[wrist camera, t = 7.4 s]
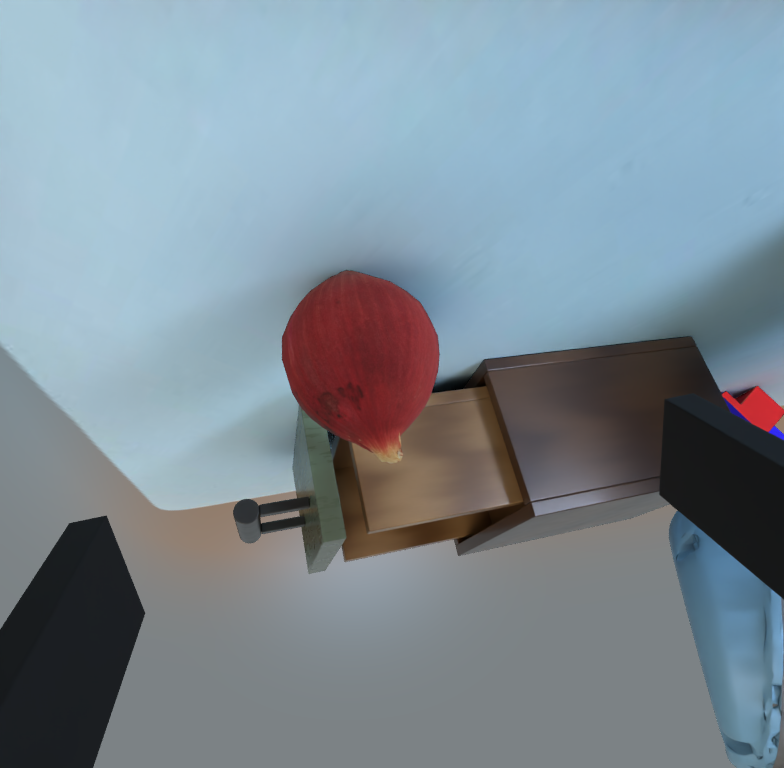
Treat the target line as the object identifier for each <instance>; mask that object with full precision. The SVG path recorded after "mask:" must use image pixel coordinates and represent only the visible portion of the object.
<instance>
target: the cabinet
mask: <svg viewBox="0 0 784 768" xmlns="http://www.w3.org/2000/svg"><path fill="white" fill-rule="evenodd" d="M484 386H487V389H488V392H489V395H490V399H491V402H492V405H493V408H494V411H495V414H496V417H497V420H498V424H499V427H500V430H501V433H502V436H503V439H504V442H505V445H506V448H507V452H508V455H509V458H510V461H511V464H512V467H513V470H514V473H515V476H516V480H517V483H518V486H519V489H520V492H521V495H522V498H523V501H524V504H525V506H524V507H522V508H520V509H518V510H517V511H515V512H513V513H511V514H510V515H508V516H506V517H504V518H503V519H501V520H499V521H497V522H496V523H494V524H492V525H491V526H489V527H487V528H485V529H484V530H482V531H480V532H478V533H477V534H475V535H473V536H468V537H463V538H459V539H454V542H455V545H456V549H457V553H458V556H461V555H466V554H470V553H475V552H479V551H484V550H489V549H493V548H498V547H503V546H507V545H512V544H516V543H521V542H525V541H530V540H535V539H539V538H544V537H548V536H553V535H557V534H562V533H566V532H571V531H576V530H581V529H585V528H590V527H594V526H599V525H604V524H608V523H613V522H617V521H622V520H626V519H631V518H634V517H636V516H639V515H642V514H644V513H647V512H650V511H653V510H655V509H658V508H660V507H664V506H666V505H669V504H670V503H668V502H667V501H666V500H665V499H664V498H662V497H661V496H660V495H659V489H660V471H661V453H662V436H663V418H664V401H665V399H668V398H673V397H677V396H682V395H687V394H692V393H694V394H696V395H698V396H700V397H701V398H703V399H705V400H707V401H709V402H711V403H713V404H715V405H717V406H719V407H721V408H723V409H725V410H727V411H728V412H730V410H729V408H728V406H727V404H726V402H725V400H724V398H723V396H722V394H721V392H720V390H719V388H718V386H717V384H716V382H715V380H714V379H713V377H712V375H711V373H710V371H709V369H708V367H707V365H706V363H705V361H704V359H703V357H702V355H701V353H700V351H699V349H698V347H696V343H695V341H694V339H693V337H682V338H673V339H664V340H655V341H646V342H637V343H629V344H620V345H611V346H602V347H593V348H584V349H576V350H567V351H558V352H549V353H540V354H531V355H522V356H514V357H505V358H496V359H487V360H484V361H483V362H482V363H481V365H480V366H479V368H478V369H477V370H476V372H475V373H474V374H473V376H472V377H471V379H470V380H469V381H468V383H467V384H466V385H465V387H464V388H463V389H468V388H476V387H484ZM730 413H731V412H730Z"/></svg>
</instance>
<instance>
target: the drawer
mask: <svg viewBox="0 0 784 768" xmlns="http://www.w3.org/2000/svg"><path fill="white" fill-rule="evenodd" d="M401 450H402V452H403V457H402V459H401V461H399V462H397V463H391V464H390V463H387V462H382V461H381V460H380V459H379V458H378V457H377V456H376V455H375V454H373V453H371V452H370V451H368V450H366V449H364V448H362V447H360V446H359V445H357V444H355V443H352V442H350V441H347V440H344V439H342V438H340V437H338V436H336V435H335V437H334V440H333V444H332V447H331V449H330V444H329V438H328V433H327V430H326V429H324V428H322V427H321V426H320V425H319V424H317V423H316V422H315V421H313V420H312V419H311V418H310V417H309V416H308V415H307V414H306V413H305V411H304V410H303V409H302V408H301V407H300V405H299V411H298V420H297V430H296V439H295V449H294V458H293V467H292V468H293V475H294V481H295V488H296V494H297V499H290V500H285V501H279V502H273V503H267V504H262V505H259V506H258V504H257V503H256V502H255V501H253V500H251V499H244V500H241V501H239V502H238V503H237V504H236V505H235V507H234V510H233V515H234V518H235V522H236V526H237V529H238V532H239V536H240V538H241V540H242V541H244V542H245V543H254V542H256V541H257V540H258V539H259V538H260V536H261V531H262V534H266V533H271V532H276V531H282V530H287V529H292V528H298V527H302V534H303V540H304V547H305V553H306V560H307V567H308V572H309V574H311V573H316V572H320V571H325V570H326V569H327V567H328V565H329V564H330V562H331V561H332V559H333V558H334V556H335V554H336V553H337V552H338V550H339V549H340V547H341V545H342V550H343V556H344V562H348V561H353V560H358V559H362V558H367V557H372V556H377V555H381V554H386V553H391V552H396V551H401V550H406V549H411V548H415V547H420V546H425V545H429V544H434V543H439V542H444V541H449V540H454V539H459V538H463V537H468V536H473V535H475V534H477V533H478V532H480V531H482V530H484V529H485V528H487V527H489V526H491V525H492V524H494V523H496V522H497V521H499V520H501V519H503V518H504V517H506V516H508V515H510V514H511V513H513V512H515V511H517V510H518V509H520V508H522V507H524V506H525V504H524V501H523V498H522V495H521V492H520V489H519V486H518V483H517V480H516V476H515V473H514V470H513V467H512V464H511V461H510V458H509V455H508V452H507V448H506V445H505V442H504V439H503V436H502V433H501V430H500V427H499V424H498V420H497V417H496V414H495V411H494V408H493V405H492V402H491V399H490V395H489V392H488V389H487V386H484V387H476V388H468V389H461V390H453V391H445V392H437V393H431V396H430V398H429V400H428V402H427V404H426V406H425V407H424V409H423V410H422V412H421V413H420V415H419V416H418V417H417V418H416V419H415V420H414V422H413V423H412V424H411V425H410V426H409V428H408V429H407V430H406V431H405V432H404V433H403V434H402V435H401ZM298 510H299V513H300V517H294V518H288V519H283V520H277V521H272V522H266V523H262V524H261V521H260V516H261V517H265V516H270V515H276V514H282V513H287V512H293V511H298Z"/></svg>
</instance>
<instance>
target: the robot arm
mask: <svg viewBox="0 0 784 768" xmlns="http://www.w3.org/2000/svg"><path fill="white" fill-rule="evenodd" d="M659 495H660V496H661V497H662V498H664V499H665V500H666V501H667V502H668V503H670V504H671V505H672V506H673V507H674V508H676V509H677V510H678V511H677V512H676V514H675V515H674V517H673V519H672V521H671V524H670V528H669V540H670V546H671V550H672V554H673V559H674V563H675V567H676V571H677V575H678V579H679V583H680V587H681V591H682V595H683V598H684V602H685V606H686V610H687V614H688V618H689V621H690V625H691V628H692V633H693V636H694V640H695V643H696V647H697V651H698V655H699V658H700V662H701V666H702V670H703V673H704V677H705V680H706V683H707V687H708V691H709V694H710V698H711V701H712V705H713V708H714V712H715V715H716V719H717V722H718V725H719V728H720V731H721V735H722V737H723V740H724V743H725V746H726V753H727V756H728V759H729V760H730V762H731V763H732V764H733V765H734V766H735V767H736V768H784V440H783V439H781V438H779V437H777V436H775V435H773V434H771V433H769V432H767V431H765V430H763V429H761V428H759V427H757V426H756V425H754V424H752V423H750V422H748V421H746V420H744V419H742V418H740V417H738V416H736V415H734V414H732V413H730V412H728V411H727V410H725V409H723V408H721V407H719V406H717V405H715V404H713V403H711V402H709V401H707V400H705V399H703V398H701V397H700V396H698V395H696V394H694V393H692V394H687V395H682V396H677V397H673V398H668V399H665V401H664V418H663V436H662V453H661V471H660V489H659ZM144 615H145V612H144V609H143V607H142V604H141V602H140V599H139V596H138V594H137V591H136V589H135V586H134V584H133V582H132V579H131V577H130V574H129V572H128V569H127V566H126V564H125V561H124V559H123V556H122V554H121V551H120V548H119V546H118V544H117V542H116V538H115V536H114V533H113V531H112V528H111V526H110V523H109V521H108V518H107V516H102V517H98V518H92V519H88V520H83V521H78V522H73V523H69V525H68V526H67V528H66V529H65V531H64V532H63V534H62V535H61V537H60V539H59V540H58V542H57V543H56V545H55V546H54V548H53V549H52V551H51V552H50V554H49V555H48V557H47V558H46V560H45V562H44V563H43V565H42V566H41V568H40V569H39V571H38V572H37V574H36V575H35V577H34V579H33V580H32V582H31V583H30V585H29V586H28V588H27V589H26V591H25V592H24V594H23V595H22V597H21V598H20V600H19V602H18V603H17V605H16V606H15V608H14V609H13V611H12V612H11V614H10V615H9V617H8V618H7V620H6V622H5V623H4V625H3V627H2V628H1V629H0V768H93V766H94V763H95V760H96V757H97V754H98V751H99V748H100V745H101V742H102V739H103V737H104V734H105V731H106V728H107V724H108V722H109V719H110V716H111V712H112V710H113V707H114V704H115V701H116V698H117V695H118V692H119V689H120V686H121V683H122V680H123V677H124V674H125V671H126V668H127V665H128V662H129V660H130V657H131V654H132V651H133V648H134V645H135V642H136V639H137V636H138V633H139V630H140V627H141V624H142V621H143V618H144Z"/></svg>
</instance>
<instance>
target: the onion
mask: <svg viewBox="0 0 784 768" xmlns="http://www.w3.org/2000/svg"><path fill="white" fill-rule="evenodd" d="M282 361H283V364H284V367H285V371H286V374H287V377H288V380H289V384H290V387H291V390H292V393H293V395H294V397H295V398H296V400H297V402H298V403H299V405H300V407H301V408H302V409H303V410H304V411H305V413H306V414H307V415H308V416H309V417H310V418H311V419H312V420H313V421H315V422H316V423H317V424H319V425H320V426H321V427H322V428H324V429H326V430H327V431H329V432H330V433H332V434H334V435H336V436H338V437H340V438H342V439H344V440H347V441H350V442H352V443H355V444H357V445H359V446H360V447H362V448H364V449H366V450H368V451H370V452H371V453H373V454H375V455H376V456H377V457H378V458H379V459H380V460H381V461H382V462H387V463H390V464H391V463H397V462H399V461H401V459H402V457H403V452H402V450H401V435H402V434H403V433H404V432H405V431H406V430H407V429H408V428H409V426H410V425H411V424H412V423H413V422H414V420H415V419H416V418H417V417H418V416H419V415H420V413H421V412H422V410H423V409H424V407H425V406H426V404H427V402H428V400H429V398H430V396H431V393H432V390H433V387H434V384H435V380H436V376H437V373H438V365H439V344H438V335H437V333H436V331H435V329H434V327H433V325H432V322H431V320H430V318H429V316H428V315H427V313H426V311H425V310H424V308H423V306H422V305H421V303H420V302H419V301H418V300H417V299H415V298H414V297H413V296H412V295H410V294H409V293H408V292H407V291H405V290H404V289H402V288H400V287H398V286H397V285H395V284H393V283H392V282H390V281H387V280H383V279H380V278H377V277H373V276H370V275H366V274H363V273H360V272H355V271H348V270H346V271H343V272H340V273H339V274H337V275H335V276H332V277H330V278H329V279H327V280H325V281H324V282H322V283H321V284H320V285H318V286H317V287H315V288H314V289H312V290H311V291H310V292H309V293H308V294H307V295H306V296H305V297H304V299H303V300H302V301H301V302H300V303H299V305H298V306H297V308H296V309H295V311H294V312H293V314H292V315H291V317H290V319H289V321H288V324H287V326H286V329H285V331H284V334H283V336H282Z"/></svg>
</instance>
